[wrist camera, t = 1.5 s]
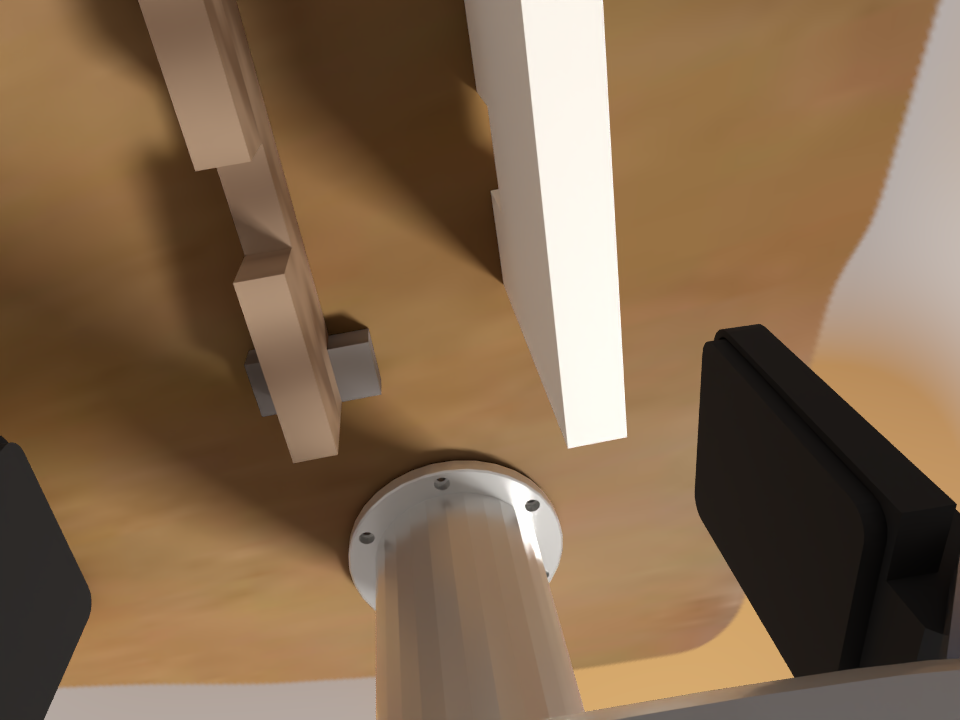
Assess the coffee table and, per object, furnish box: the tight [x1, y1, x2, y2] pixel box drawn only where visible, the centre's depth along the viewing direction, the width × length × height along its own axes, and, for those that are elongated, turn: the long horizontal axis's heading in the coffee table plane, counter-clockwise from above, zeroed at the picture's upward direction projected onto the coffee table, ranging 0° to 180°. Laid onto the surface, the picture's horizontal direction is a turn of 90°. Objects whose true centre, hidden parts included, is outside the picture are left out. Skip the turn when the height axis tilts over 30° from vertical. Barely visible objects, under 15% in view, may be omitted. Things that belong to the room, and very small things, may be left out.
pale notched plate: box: [464, 0, 627, 448], centre depth 27 cm, size 2×14×14 cm, turn 8°
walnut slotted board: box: [138, 0, 381, 463], centre depth 30 cm, size 22×6×6 cm, turn 8°
